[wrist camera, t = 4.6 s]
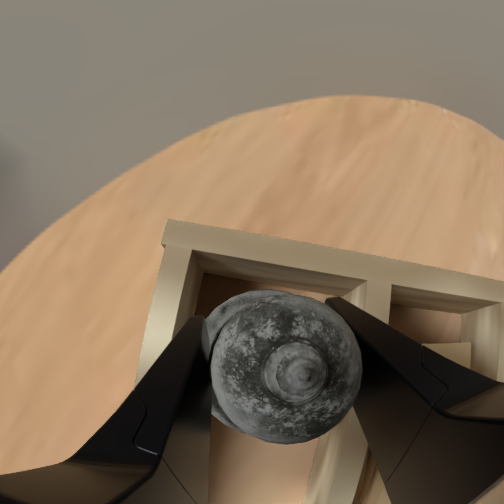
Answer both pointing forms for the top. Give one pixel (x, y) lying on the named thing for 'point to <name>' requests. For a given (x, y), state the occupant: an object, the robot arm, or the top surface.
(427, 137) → the top surface
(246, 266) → the birch rack
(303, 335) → the grey rounded tall piece
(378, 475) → the offcut stack
